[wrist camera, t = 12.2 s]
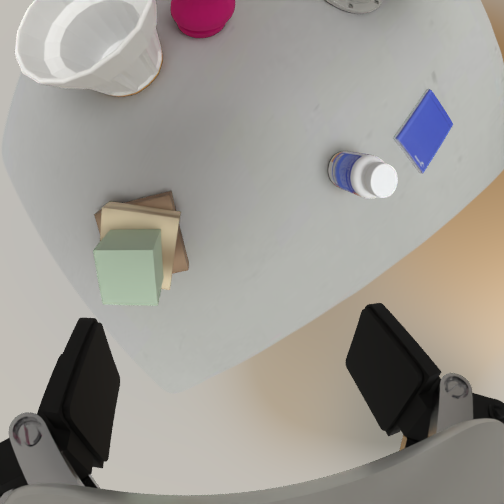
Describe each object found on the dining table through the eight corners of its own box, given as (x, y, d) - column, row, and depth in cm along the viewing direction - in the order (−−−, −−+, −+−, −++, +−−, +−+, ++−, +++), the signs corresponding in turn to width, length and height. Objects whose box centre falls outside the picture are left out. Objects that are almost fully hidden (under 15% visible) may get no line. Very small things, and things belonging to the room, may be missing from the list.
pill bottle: (331, 192, 38) (368, 210, 29) (323, 154, 36) (361, 163, 27) (363, 182, 38) (404, 198, 30) (356, 147, 36) (399, 154, 27)
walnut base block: (101, 208, 34) (94, 214, 31) (171, 190, 35) (169, 194, 32) (122, 274, 38) (118, 284, 35) (188, 260, 39) (188, 270, 36)
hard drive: (423, 174, 39) (454, 124, 36) (397, 138, 36) (431, 89, 33) (417, 172, 40) (448, 124, 38) (391, 138, 37) (424, 89, 34)
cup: (82, 109, 28) (3, 98, 12) (93, 31, 23) (34, -22, 8) (167, 103, 30) (139, 73, 14) (177, 23, 26) (166, -52, 10)
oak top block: (109, 201, 31) (102, 207, 28) (180, 211, 33) (179, 218, 30) (106, 268, 34) (99, 279, 31) (171, 278, 36) (169, 290, 33)
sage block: (110, 229, 29) (93, 250, 24) (160, 229, 30) (152, 250, 25) (116, 277, 32) (102, 304, 26) (163, 277, 33) (157, 305, 27)
